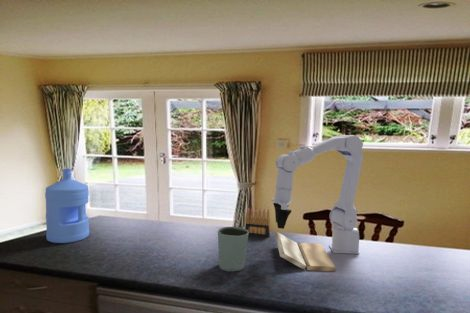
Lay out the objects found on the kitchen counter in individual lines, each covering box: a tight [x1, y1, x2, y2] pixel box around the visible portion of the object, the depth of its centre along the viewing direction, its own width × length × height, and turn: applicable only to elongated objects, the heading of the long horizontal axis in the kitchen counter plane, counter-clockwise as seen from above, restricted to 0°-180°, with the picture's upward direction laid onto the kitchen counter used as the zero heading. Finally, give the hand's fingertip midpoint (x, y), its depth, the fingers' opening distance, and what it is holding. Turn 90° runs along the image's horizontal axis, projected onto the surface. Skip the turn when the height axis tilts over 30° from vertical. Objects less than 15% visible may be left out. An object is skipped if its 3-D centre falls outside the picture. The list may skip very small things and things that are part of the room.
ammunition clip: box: [244, 207, 271, 238], centre depth 143 cm, size 11×2×12 cm, turn 75°
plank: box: [274, 231, 306, 270], centre depth 120 cm, size 9×22×2 cm, turn 177°
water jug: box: [44, 168, 90, 244], centre depth 135 cm, size 16×16×28 cm
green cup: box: [217, 226, 249, 272], centre depth 111 cm, size 10×10×12 cm
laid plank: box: [297, 242, 336, 272], centre depth 120 cm, size 9×22×2 cm, turn 177°
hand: (279, 225), depth 120 cm, fingers open, 7 cm apart
